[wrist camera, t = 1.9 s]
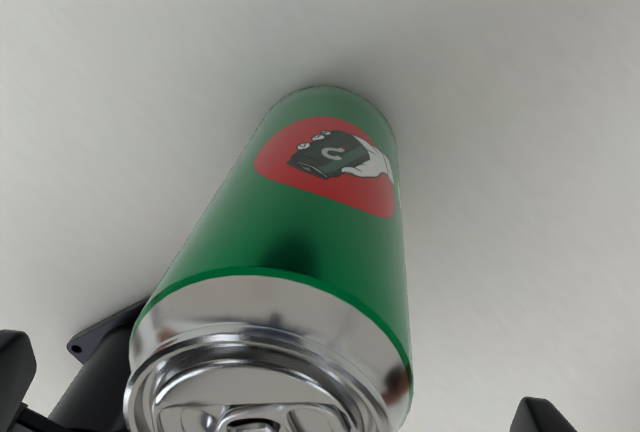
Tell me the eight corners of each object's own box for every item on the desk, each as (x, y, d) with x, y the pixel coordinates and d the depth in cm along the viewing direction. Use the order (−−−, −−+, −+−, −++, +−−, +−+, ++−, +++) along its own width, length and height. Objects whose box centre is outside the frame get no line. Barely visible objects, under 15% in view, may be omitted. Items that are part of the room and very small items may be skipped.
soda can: (237, 105, 18) (33, 348, 7) (375, 62, 17) (364, 281, 6) (286, 224, 20) (184, 539, 10) (411, 193, 19) (449, 518, 8)
